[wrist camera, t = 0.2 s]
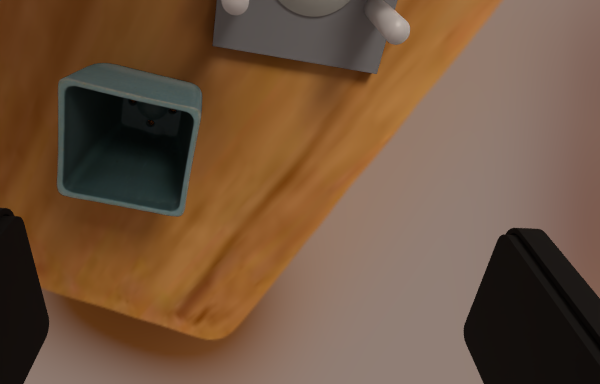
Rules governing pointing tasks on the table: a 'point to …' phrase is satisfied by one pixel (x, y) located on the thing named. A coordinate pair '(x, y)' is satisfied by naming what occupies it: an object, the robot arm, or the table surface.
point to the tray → (312, 30)
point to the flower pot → (127, 138)
